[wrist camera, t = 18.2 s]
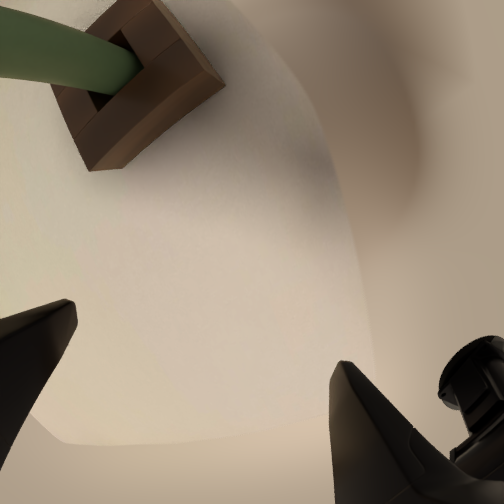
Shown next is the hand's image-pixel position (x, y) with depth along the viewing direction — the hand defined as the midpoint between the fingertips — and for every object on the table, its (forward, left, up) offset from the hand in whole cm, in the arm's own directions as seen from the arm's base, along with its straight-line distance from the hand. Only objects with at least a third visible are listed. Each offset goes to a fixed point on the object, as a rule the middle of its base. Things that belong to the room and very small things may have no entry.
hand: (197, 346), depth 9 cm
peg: (+14, -7, -12) cm, 20 cm away
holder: (+14, -7, -12) cm, 20 cm away
